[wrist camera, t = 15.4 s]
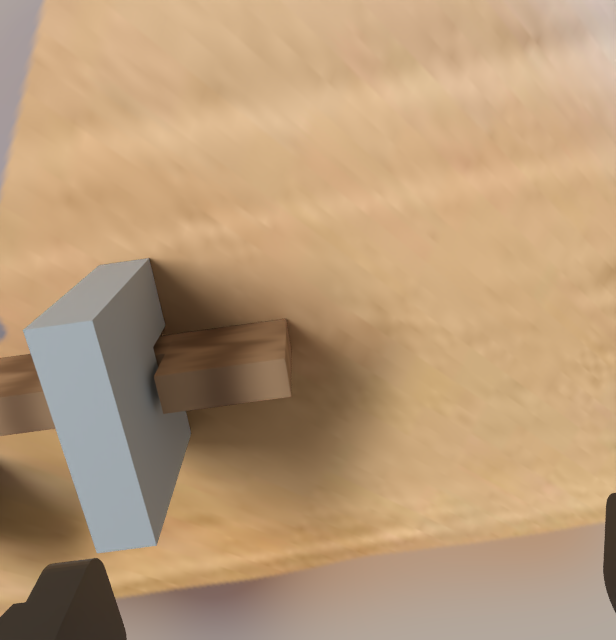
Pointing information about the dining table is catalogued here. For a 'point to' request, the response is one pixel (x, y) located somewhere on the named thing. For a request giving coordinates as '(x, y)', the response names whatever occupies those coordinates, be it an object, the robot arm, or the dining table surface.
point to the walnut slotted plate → (174, 374)
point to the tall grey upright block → (111, 402)
